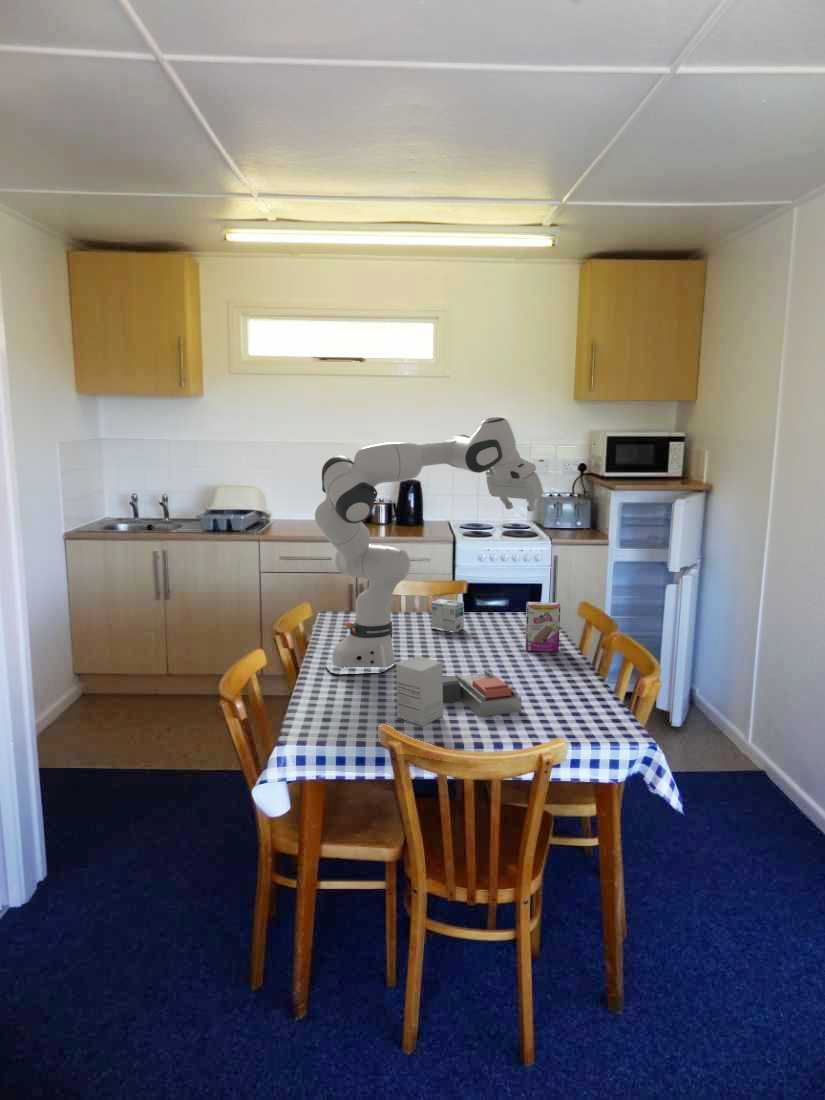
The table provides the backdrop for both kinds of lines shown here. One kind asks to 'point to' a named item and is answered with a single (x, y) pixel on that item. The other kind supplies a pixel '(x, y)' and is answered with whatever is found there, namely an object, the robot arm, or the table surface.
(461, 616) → the light bulb box
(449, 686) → the plug
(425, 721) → the supplement box
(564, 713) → the table surface
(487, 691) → the red stepped block
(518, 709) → the socket
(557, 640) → the candy bar box
